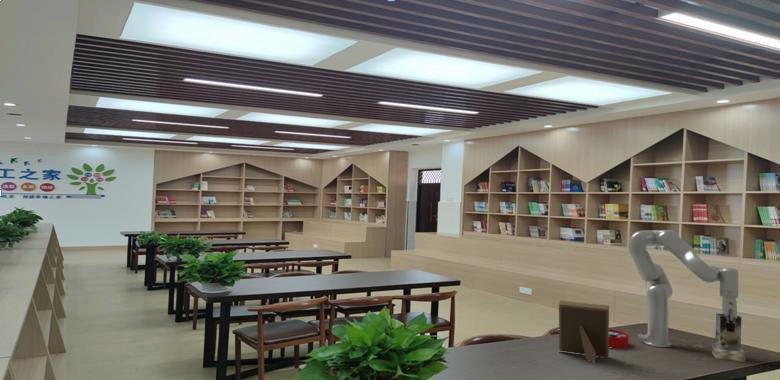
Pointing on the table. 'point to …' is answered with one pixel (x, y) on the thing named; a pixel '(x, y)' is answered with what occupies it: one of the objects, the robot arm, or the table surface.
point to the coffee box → (727, 334)
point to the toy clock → (618, 339)
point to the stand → (729, 354)
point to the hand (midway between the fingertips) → (728, 329)
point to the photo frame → (584, 329)
